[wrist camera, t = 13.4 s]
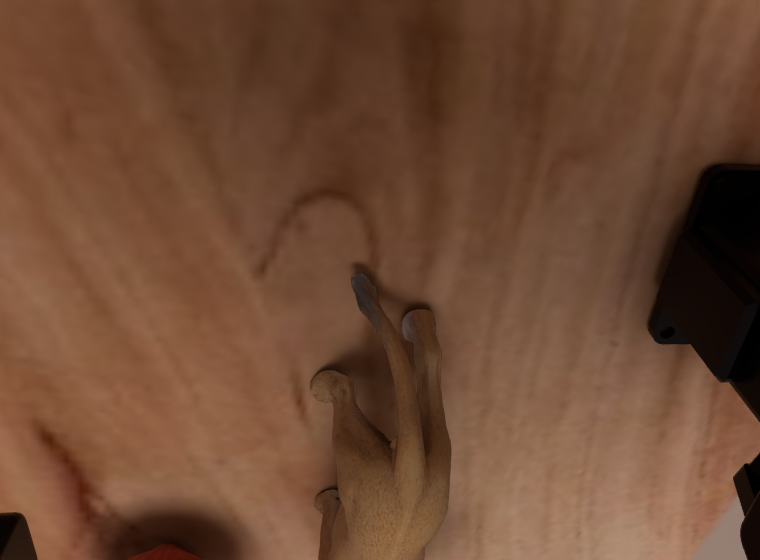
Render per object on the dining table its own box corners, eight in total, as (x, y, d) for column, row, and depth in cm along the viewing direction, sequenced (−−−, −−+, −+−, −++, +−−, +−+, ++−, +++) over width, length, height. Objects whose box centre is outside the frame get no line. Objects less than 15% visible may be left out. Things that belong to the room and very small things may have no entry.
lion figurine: (446, 544, 30) (498, 785, 23) (322, 563, 30) (334, 811, 23) (435, 252, 22) (510, 480, 15) (263, 273, 22) (252, 516, 14)
